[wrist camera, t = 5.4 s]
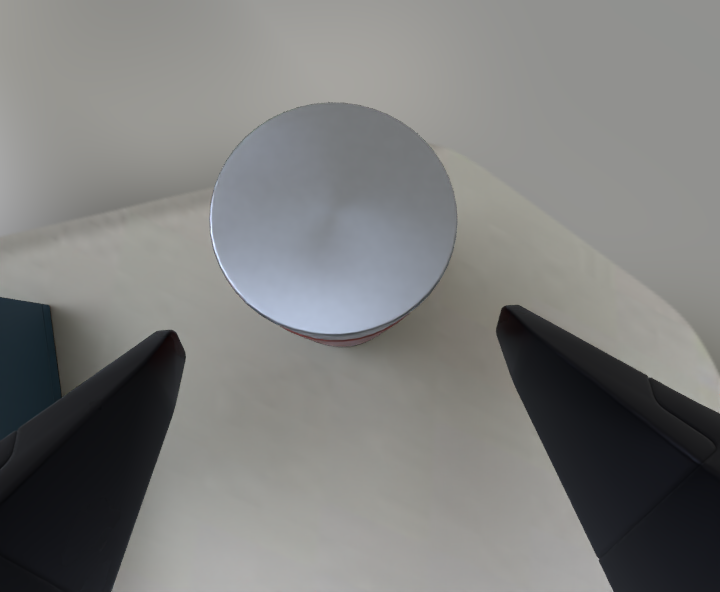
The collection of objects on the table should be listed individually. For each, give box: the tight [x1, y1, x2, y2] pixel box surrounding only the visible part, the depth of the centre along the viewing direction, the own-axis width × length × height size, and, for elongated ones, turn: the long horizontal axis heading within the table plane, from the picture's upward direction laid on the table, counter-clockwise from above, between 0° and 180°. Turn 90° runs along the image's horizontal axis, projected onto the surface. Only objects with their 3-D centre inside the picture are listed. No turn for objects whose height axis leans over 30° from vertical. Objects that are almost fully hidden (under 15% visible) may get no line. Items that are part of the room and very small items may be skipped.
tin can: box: [209, 103, 457, 347], centre depth 14 cm, size 7×7×11 cm
